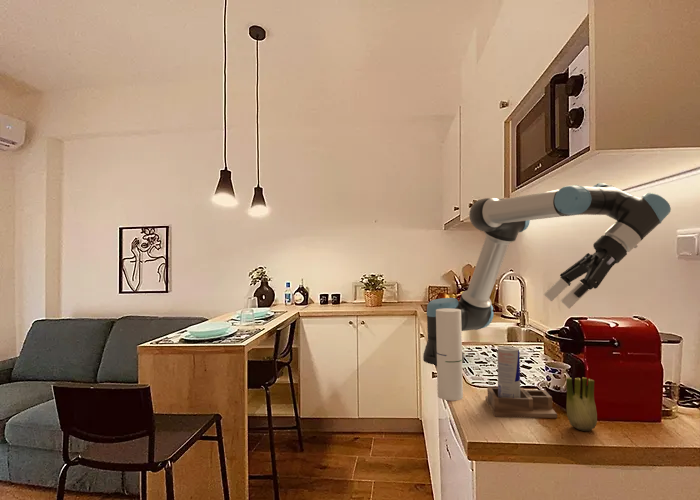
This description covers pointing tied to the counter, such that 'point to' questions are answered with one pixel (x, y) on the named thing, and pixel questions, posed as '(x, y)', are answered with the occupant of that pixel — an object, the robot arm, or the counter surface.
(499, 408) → the socket board
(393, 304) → the counter surface
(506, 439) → the counter surface
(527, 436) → the counter surface
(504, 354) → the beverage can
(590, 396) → the fennel bulb
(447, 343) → the cylindrical container
